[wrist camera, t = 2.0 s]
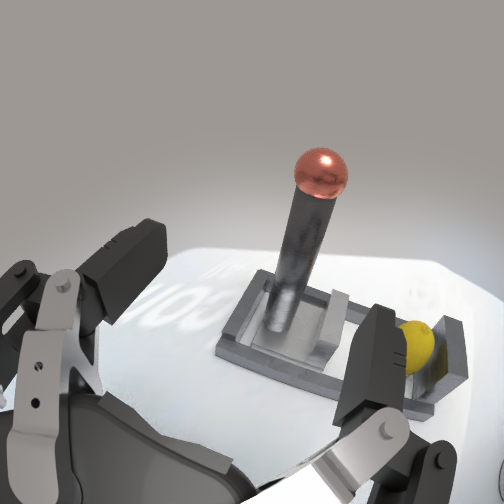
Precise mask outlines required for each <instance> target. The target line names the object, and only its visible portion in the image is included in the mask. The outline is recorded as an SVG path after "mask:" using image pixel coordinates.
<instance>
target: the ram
mask: <svg viewBox="0 0 504 504" xmlns="http://www.w3.org/2000/svg"><path fill="white" fill-rule="evenodd" d="M294 177H295V182H296V184H297V185H296V189H295V193H294V198H293V202H292V207H291V210H290V215H289V219H288V223H287V227H286V231H285V236H284V239H283V244H282V247H281V252H280V256H279V260H278V264H277V267H276V271H275V275H274V279H273V283H272V287H271V291H270V295H269V299H268V302H267V306H266V310H265V314H264V318H263V321H262V323H261V325H260V327H259V329H258V331H257V333H256V335H255V337H254V339H253V342H252V344H251V348H253V349H256V350H258V351H261V352H263V353H266V354H268V355H271V356H274V357H276V358H279V359H282V360H284V361H287V362H290V363H293V364H295V365H298V366H301V367H304V368H307V369H310V370H313V371H315V372H318V373H322V371H323V370H324V368H325V365H326V363H327V362H328V361H329V359H330V358H331V356H332V355H333V354H334V352H335V351H336V349H337V348H338V346H339V343H340V339H341V334H342V330H343V325H344V320H345V315H346V310H347V305H348V300H349V295H348V294H345V293H342V292H339V291H337V290H334V289H333V290H332V292H331V294H330V296H329V298H328V300H327V302H326V304H325V307H324V309H322V308H319V307H316V306H314V305H311V304H308V303H305V302H303V301H301V299H302V296H303V294H304V291H305V288H306V286H307V283H308V280H309V277H310V275H311V272H312V269H313V267H314V264H315V261H316V258H317V255H318V252H319V250H320V247H321V243H322V241H323V238H324V235H325V232H326V229H327V226H328V223H329V220H330V217H331V214H332V211H333V207H334V205H335V201H336V198H337V196H338V195H340V194H341V193H342V191H343V190H344V189H345V187H346V184H347V181H348V169H347V166H346V164H345V162H344V160H343V159H342V158H341V156H340V155H339V154H337V153H336V152H335V151H333V150H330V149H328V148H322V147H319V148H313V149H310V150H308V151H306V152H305V153H304V154H303V155H301V156H300V158H299V159H298V161H297V163H296V165H295V170H294Z"/></svg>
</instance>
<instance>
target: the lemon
mask: <svg viewBox="0 0 504 504" xmlns="http://www.w3.org/2000/svg"><path fill="white" fill-rule="evenodd" d="M397 328H400V329H402V330H403V332H404V335H405V338H406V341H407V356H406V359H407V362H406V368H405V369H406V376H407V375H411V374H413V373H415V372H417V371H418V370H420V369H421V368H422V367H423V366H424V365H425V364H426V363H427V361H428V360H429V358H430V356H431V354H432V352H433V350H434V344H435V340H434V335H433V332H432V330H431V329H430V328H429V326H427V325H426V324H425V323H423V322H420V321H409V322H406V323H404V324H402V325H400V326H399V327H397Z"/></svg>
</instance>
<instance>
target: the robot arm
mask: <svg viewBox="0 0 504 504" xmlns="http://www.w3.org/2000/svg"><path fill="white" fill-rule="evenodd" d="M167 257H168V253H167V235H166V226H165V225H164V224H162V223H159V222H156V221H154V220H151V219H148V218H147V219H144V220H143V221H142V222H140V223H139V224H138V225H137V226H136V227H133V226H132V227H130V228H128V229H125V230H123V231H121V232H119V233H118V234H117V235H116V236H115V237H113V238H112V239H111V241H109V242H107V243H106V244H105V245H104V247H101V248H100V249H99V250H98V251H97V252H96V253H94V254H93V255H92V256H91V257H90V258H89V259H88V260H86V262H84V263H83V264H82V265H81V266H80V267H79V268H77V269H76V270H75V271H74V270H70V269H65V270H60V271H58V272H56V273H54V274H53V275H47V274H43V273H39V272H38V271H37V269H36V266H35V264H34V263H33V262H32V261H30V260H22V261H20V262H17V263H16V264H14V265H13V266H12V267H11V268H10V269H9V270H8V271H7V272H6V273H5V274H4V275H3V276H2V277H1V278H0V409H3V408H4V407H5V406H6V399H5V397H4V396H3V392H4V391H5V389H6V388H7V386H8V385H9V384H10V382H11V381H12V379H13V378H14V377H15V375H16V374H17V380H16V389H15V400H14V409H13V410H9V411H4V412H0V504H348V503H349V502H351V501H352V499H353V498H354V497H355V495H356V494H355V492H356V490H357V489H358V488H359V487H360V486H362V485H363V484H364V483H365V482H366V481H367V480H369V479H371V480H373V481H374V484H373V487H372V490H371V493H370V496H369V499H368V501H367V504H449V500H450V495H451V491H452V486H453V481H454V476H455V471H456V464H457V454H456V451H455V449H454V447H453V446H452V444H451V443H449V442H447V441H445V440H440V441H436V442H434V443H432V444H430V443H429V442H427V441H425V440H424V439H422V438H420V437H419V436H417V435H416V434H414V433H413V432H412V431H411V430H410V427H409V423H408V420H407V418H406V417H405V415H404V414H403V402H404V392H405V379H406V369H405V368H406V362H407V359H406V356H407V341H406V338H405V335H404V332H403V330H402V329H400V328H397V327H395V317H396V314H395V311H394V310H392V309H390V308H387V307H384V306H381V305H379V304H374V305H373V306H372V308H371V309H370V311H369V312H368V314H367V315H366V317H365V318H364V320H363V321H362V323H361V324H360V326H359V327H358V329H357V330H356V332H355V334H354V337H353V339H352V343H351V347H350V352H349V357H348V362H347V367H346V371H345V376H344V380H343V385H342V389H341V393H340V397H339V401H338V405H337V409H336V413H335V416H334V420H333V424H332V425H334V426H338V427H341V431H340V435H339V437H337V438H336V439H334V440H333V441H332V442H330V443H329V444H328V445H326V446H325V447H323V448H322V449H320V450H319V451H318V452H316V453H315V454H313V455H312V456H310V457H309V458H307V459H305V460H304V461H302V462H301V463H299V464H298V465H296V466H294V467H293V468H291V469H289V470H287V471H285V472H283V473H282V474H280V475H278V476H276V477H274V478H272V479H271V480H269V481H267V482H265V483H263V484H261V485H260V486H258V487H256V488H255V487H254V486H253V484H252V483H251V481H250V480H249V479H248V478H247V476H246V475H245V474H244V473H243V472H242V471H240V470H239V469H238V468H237V467H235V466H234V465H233V464H231V463H232V461H233V459H232V458H229V457H227V456H224V455H222V454H219V453H217V452H215V451H213V450H210V449H208V448H206V447H204V446H201V445H199V444H195V443H191V442H186V441H182V440H178V439H174V438H170V437H166V436H163V435H161V434H159V433H158V432H157V431H156V430H155V429H153V428H152V427H151V426H150V425H149V424H148V423H147V422H146V421H145V420H144V419H143V418H142V417H141V416H140V415H139V414H138V413H137V412H136V411H135V410H134V409H133V408H131V407H130V406H128V405H127V404H125V403H124V402H122V401H121V400H119V399H118V398H116V397H115V396H113V395H112V394H110V393H109V392H107V391H106V393H105V394H104V395H103V389H102V384H101V380H100V377H99V372H98V350H99V323H100V322H101V321H102V320H104V321H106V322H107V323H109V324H110V325H113V324H114V323H115V322H116V321H117V319H118V318H119V317H120V316H121V315H122V314H123V312H124V311H125V310H126V309H127V308H128V307H129V306H130V305H131V303H132V302H133V301H134V300H135V299H136V298H137V297H138V296H139V294H140V293H141V292H142V291H143V290H144V289H145V288H146V287H147V286H148V285H149V283H150V282H151V281H152V280H153V279H154V278H155V277H156V276H157V275H158V274H159V273H160V271H161V270H162V269H163V268H164V266H165V264H166V261H167ZM19 305H21V307H22V309H23V310H24V313H23V315H22V316H21V317H20V318H19V319H18V320H17V321H16V323H15V324H14V325H13V326H12V327H11V329H10V330H9V331H8V332H7V333H6V334H5V335H3V334H2V326H3V324H4V322H5V321H6V320H7V319H8V318H9V317H10V315H11V314H12V313H13V312H14V311H15V310H16V309H17V307H18V306H19ZM500 492H501V496H502V498H503V500H504V463H503V465H502V469H501V474H500Z"/></svg>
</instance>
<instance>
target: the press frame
mask: <svg viewBox="0 0 504 504" xmlns="http://www.w3.org/2000/svg"><path fill="white" fill-rule="evenodd" d="M274 275H275V274H273V273H270V272H268V271H265V270H262V269H260V270H257V272H256V274H255V276H254V277H253V279H252V281H251V282H250V284H249V286H248V288H247V289H246V291H245V293H244V294H243V296H242V298H241V300H240V301H239V303H238V305H237V306H236V308H235V310H234V311H233V313H232V315H231V317H230V318H229V320H228V322H227V323H226V325H225V327H224V328H223V330H222V336H221V338H220V340H219V342H218V343H217V345H216V354H215V355H216V356H218V357H220V358H223V359H225V360H227V361H229V362H232V363H234V364H237V365H239V366H241V367H244V368H246V369H249V370H251V371H254V372H256V373H259V374H261V375H264V376H267V377H269V378H272V379H274V380H277V381H280V382H283V383H285V384H288V385H291V386H294V387H297V388H300V389H302V390H305V391H308V392H311V393H315V394H318V395H321V396H324V397H327V398H330V399H334V400H337V401H339V397H340V393H341V389H342V385H343V380H340V379H337V378H334V377H331V376H327V375H324V374H321V373H318V372H315V371H313V370H310V369H307V368H304V367H301V366H298V365H295V364H293V363H290V362H287V361H284V360H282V359H279V358H276V357H274V356H271V355H268V354H266V353H263V352H261V351H258V350H256V349H253V348H251V347H248V346H246V345H243V344H241V343H238V342H239V340H240V339H241V337H242V335H243V333H244V331H245V329H246V327H247V325H248V323H249V321H250V320H251V318H252V316H253V314H254V312H255V310H256V308H257V306H258V304H259V302H260V300H261V298H262V296H263V294H264V293H265V291H267V292H270V291H271V287H272V283H273V279H274ZM329 296H330V294H328V293H326V292H323V291H320V290H317V289H315V288H312V287H309V286H306V288H305V291H304V294H303V296H302V299H301V301H303V302H305V303H308V304H311V305H314V306H316V307H319V308H322V309H324V307H325V304H326V302H327V300H328V298H329ZM370 309H371V308H368V307H365V306H362V305H359V304H357V303H354V302H351V301H348V305H347V310H346V315H345V320H347V321H350V322H353V323H356V324H359V325H360V324H361V323H362V321H363V320H364V318H365V317H366V315H367V314H368V312H369V311H370ZM406 322H408V321H405V320H402V319H400V318H397V317H395V327H399V326H400V325H402V324H404V323H406ZM431 330H432V332H433V335H434V340H435V344H434V350H433V352H432V354H431V356H430V358H429V360H428V361H427V363H426V364H425V365H424V366H423V367H422V368H421V369H420V370H418V371H417V372H415V373H414V383H413V396H412V399H408V398H404V402H403V414H404V415H405V417H406V418H408V419H413V420H418V421H423V422H424V421H425V420H427V419H429V418H430V417H432V416H434V404H435V403H436V402H438V401H439V400H440V399H442V398H443V397H445V396H446V395H447V394H449V393H450V392H451V391H453V390H454V389H455V388H457V387H458V386H459V385H460V384H462V383H463V382H464V381H465V380H467V379H468V366H467V355H466V346H465V338H464V331H463V324H462V321H459V320H456V319H454V318H451V317H448V316H445V315H444V316H443V317H442V318H441V319H440V320H439V322H438V323H437V324H436V325H435V326H434V328H433V329H431Z"/></svg>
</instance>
